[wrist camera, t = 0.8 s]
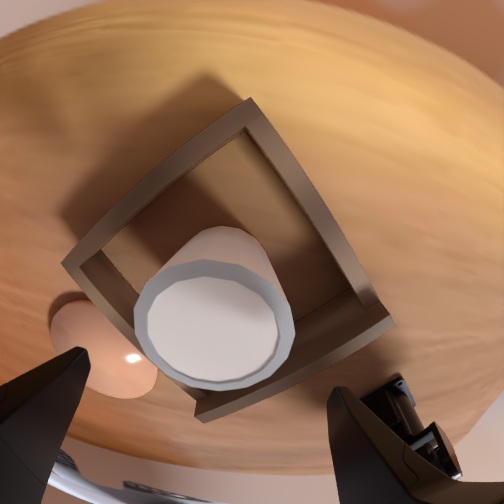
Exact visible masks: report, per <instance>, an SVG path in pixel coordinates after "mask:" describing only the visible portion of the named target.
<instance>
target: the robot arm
mask: <svg viewBox="0 0 504 504" xmlns="http://www.w3.org/2000/svg"><path fill="white" fill-rule="evenodd" d="M90 370H91V363H90V359H89V355H88V351H87V349H85V348H82V347H79V346H76V347H74V348H72V349H70V350H68V351H66V352H64V353H62V354H60V355H59V356H57V357H55V358H53V359H51V360H49V361H47V362H45V363H43V364H41V365H39V366H38V367H36V368H34V369H32V370H30V371H28V372H26V373H24V374H22V375H20V376H19V377H17V378H15V379H13V380H11V381H9V382H8V383H5V384H3V385H1V386H0V504H41V501H42V498H43V494H44V492H45V488H46V487H45V486H46V485H47V482H48V479H49V477H50V474H51V471H52V468H53V465H54V463H55V460H56V458H57V455H58V452H59V450H60V447H61V445H62V442H63V440H64V437H65V435H66V433H67V430H68V428H69V426H70V423H71V421H72V419H73V416H74V414H75V412H76V410H77V407H78V405H79V403H80V400H81V397H82V394H83V391H84V388H85V385H86V382H87V379H88V376H89V373H90ZM415 405H416V404H415V402H414V400H413V397H412V395H411V393H410V391H409V389H408V387H407V385H406V383H405V380H404V379H403V377H399V378H397V379H396V380H394V381H392V382H391V383H389V384H388V385H386V386H384V387H383V388H381V389H379V390H378V391H376V392H374V393H372V394H371V395H369V396H367V397H365V398H363V399H362V400H359V399H358V398H357V397H356V396H355V395H354V394H353V393H352V392H351V391H350V390H349V389H348V388H346V387H335V388H334V389H333V391H332V393H331V395H330V397H329V399H328V401H327V420H328V435H329V444H330V449H331V455H332V460H333V466H334V472H335V477H336V482H337V489H338V495H339V501H340V504H504V482H462V481H458V480H457V479H459V478H460V477H462V471H461V468H460V465H459V462H458V460H457V457H456V454H455V451H454V448H453V446H452V445H451V443H450V441H449V439H448V438H447V436H446V434H445V432H444V431H443V430H442V429H441V428H440V427H439V426H438V425H437V424H436V423H435V421H434V422H432V423H431V424H430V425H429V426H428V427H427V428H426V429H424V427H423V425H422V423H421V421H420V419H419V417H418V415H417V413H416V411H415V409H414V407H415ZM436 445H438V447H436V448H435V449H434V448H433V447H435V446H436Z"/></svg>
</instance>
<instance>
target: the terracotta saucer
mask: <svg viewBox="0 0 504 504" xmlns="http://www.w3.org/2000/svg"><path fill="white" fill-rule="evenodd" d="M51 339H52V343H53V346H54V348H55V351H56V353H57V355H58V356H59V355H60V354H62V353H64V352H66V351H68V350H70V349H72V348H74V347H76V346H79V347H82V348H85V349H87V351H88V355H89V359H90V363H91V370H90V373H89V376H88V379H87V382H86V385H87V386H88V387H90V388H92V389H94V390H96V391H98V392H100V393H102V394H105V395H108V396H112V397H117V398H136V397H139V396H142V395H144V394H146V393H147V392H149V391H150V390H151V388H152V387H153V386H154V383H155V381H156V378H157V375H158V371H159V369H158V368H157V367H156V366H155V365H154V364H153V363H152V362H150V361H149V360H148V359H147V358H146V357H145V356H144V355H143V354H142V353H141V352H140V351H139V350H138V349H137V348H136V347H135V346H134V345H133V344H132V343H131V342H129V341H128V340H127V339H126V338H125V337H124V335H123V334H122V333H121V332H120V331H119V330H118V329H117V328H116V327H115V326H114V325H113V324H112V323H111V322H110V321H109V320H108V319H107V318H106V317H105V316H104V314H103V313H102V312H101V311H100V310H99V309H98V308H97V307H96V306H95V304H94V303H93V302H92V301H91V300H83V299H81V300H74V301H71V302H69V303H67V304H65V305H64V306H63V307H62V308H61V309H60V310H59V311H58V312H57V313H56V314H55V316H54V318H53V320H52V323H51Z"/></svg>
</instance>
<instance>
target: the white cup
mask: <svg viewBox="0 0 504 504" xmlns="http://www.w3.org/2000/svg"><path fill="white" fill-rule="evenodd" d="M134 325H135V335H136V337H137V339H138V341H139V343H140V345H141V347H142V348H143V350H144V352H145V354H146V356H147V357H148V358H149V359H150V360H151V361H152V362H153V363H154V364H155V365H156V366H157V367H158V368H159V369H161V370H162V371H163V372H164V373H165V374H166V375H168V376H170V377H172V378H174V379H176V380H178V381H180V382H182V383H185V384H187V385H189V386H191V387H196V388H202V389H209V390H215V391H224V390H232V389H240V388H247V387H249V386H251V385H253V384H255V383H257V382H259V381H262V380H264V379H266V378H268V377H270V376H271V375H272V374H273V373H274V372H275V371H276V370H277V369H278V368H279V367H280V366H281V365H282V363H283V362H284V361H285V360H286V359H287V358H288V355H289V352H290V349H291V346H292V343H293V340H294V337H295V329H294V324H293V318H292V313H291V307H290V305H289V303H288V301H287V298H286V296H285V294H284V292H283V290H282V287H281V285H280V283H279V281H278V278H277V276H276V274H275V272H274V269H273V267H272V265H271V263H270V261H269V258H268V256H267V254H266V252H265V251H264V249H263V248H262V246H261V245H260V244H259V242H258V241H257V240H256V238H254V237H253V236H251V235H249V234H248V233H246V232H244V231H243V230H241V229H239V228H233V227H227V226H217V227H213V228H209V229H205V230H202V231H201V232H200V233H198V234H197V235H196V236H194V237H193V238H192V239H190V240H189V241H188V242H187V243H186V244H185V245H184V246H183V247H182V248H181V249H180V250H179V251H178V252H177V253H176V254H175V255H174V256H173V257H172V258H171V259H170V260H169V261H168V262H167V263H166V264H165V265H164V266H163V267H162V268H161V269H160V270H159V271H158V272H157V273H156V274H155V275H154V276H153V277H152V278H151V279H150V280H149V281H148V282H147V283H146V284H145V286H144V288H143V290H142V292H141V294H140V296H139V298H138V300H137V303H136V305H135V307H134Z"/></svg>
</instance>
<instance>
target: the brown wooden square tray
mask: <svg viewBox="0 0 504 504" xmlns="http://www.w3.org/2000/svg"><path fill="white" fill-rule="evenodd" d="M245 130H246V131H247V132H248V134H249V135H250V136H251V138H252V139H253V140H254V142H255V143H256V145H257V146H258V147H259V149H260V150H261V151H262V153H263V154H264V155H265V157H266V158H267V160H268V161H269V162H270V164H271V165H272V167H273V168H274V169H275V171H276V172H277V174H278V175H279V177H280V178H281V179H282V181H283V182H284V184H285V185H286V187H287V188H288V190H289V191H290V193H291V194H292V195H293V197H294V198H295V200H296V201H297V203H298V204H299V206H300V207H301V209H302V210H303V212H304V213H305V215H306V216H307V218H308V220H309V221H310V223H311V224H312V226H313V227H314V229H315V230H316V232H317V233H318V235H319V237H320V238H321V240H322V241H323V243H324V244H325V246H326V248H327V249H328V251H329V252H330V254H331V256H332V257H333V259H334V260H335V262H336V264H337V265H338V267H339V269H340V270H341V272H342V274H343V275H344V277H345V279H346V280H347V282H348V284H349V285H350V287H351V288H349V289H348V290H346V291H344V292H343V293H341V294H340V295H338V296H337V297H335V298H334V299H332V300H331V301H329V302H327V303H326V304H324V305H323V306H321V307H319V308H318V309H316V310H315V311H313V312H311V313H310V314H308V315H306V316H305V317H303V318H301V319H300V320H298V321H296V322H295V323H293V324H294V329H295V337H294V340H293V343H292V346H291V349H290V352H289V355H288V358H287V359H286V360H285V361H284V362H283V363H282V365H281V366H280V367H279V368H278V369H277V370H276V371H275V372H274V373H273V374H272V375H271V376H270V377H268V378H266V379H264V380H262V381H259V382H257V383H255V384H253V385H251V386H249V387H247V388H240V389H232V390H224V391H215V390H209V389H202V388H196V387H191V386H189V385H187V384H185V383H182V382H180V381H178V380H176V379H174V378H172V377H170V376H168V375H166V374H165V373H164V372H163V371H162V370H161V369H159V368H158V367H157V366H156V365H155V364H154V363H153V362H152V361H151V360H150V359H149V358H148V357H147V356H146V354H145V352H144V350H143V348H142V347H141V345H140V343H139V341H138V339H137V337H136V335H135V325H134V307H135V305H136V303H137V300H138V298H139V295H138V294H137V293H136V292H135V290H134V289H133V288H132V287H131V286H130V285H129V284H128V282H127V281H126V280H125V279H124V278H123V277H122V275H121V274H120V273H119V272H118V271H117V269H116V268H115V267H114V266H113V265H112V263H111V262H110V261H109V260H108V258H107V257H106V256H105V255H104V253H103V252H102V251H101V250H100V249H101V248H102V247H103V246H104V245H105V244H106V243H108V242H109V241H110V240H111V239H112V238H113V237H114V236H115V235H116V234H117V233H118V232H119V231H120V230H121V229H122V228H123V227H125V226H126V225H127V224H128V223H129V222H130V221H131V220H132V219H133V218H135V217H136V216H137V215H138V214H139V213H140V212H141V211H142V210H144V209H145V208H146V207H147V206H148V205H149V204H150V203H152V202H153V201H154V200H155V199H156V198H158V197H159V196H160V195H161V194H162V193H163V192H165V191H166V190H167V189H168V188H170V187H171V186H172V185H173V184H174V183H176V182H177V181H178V180H179V179H181V178H182V177H183V176H184V175H186V174H187V173H188V172H189V171H191V170H192V169H193V168H195V167H196V166H197V165H199V164H200V163H201V162H202V161H204V160H205V159H206V158H208V157H209V156H210V155H212V154H213V153H214V152H216V151H217V150H219V149H220V148H221V147H223V146H224V145H225V144H227V143H228V142H230V141H231V140H232V139H234V138H235V137H237V136H238V135H240V134H241V133H242V132H244V131H245ZM61 264H62V266H63V267H64V268H65V269H66V271H67V272H68V273H69V275H70V276H71V277H72V278H73V280H74V281H75V282H76V283H77V284H78V286H79V287H80V288H81V289H82V290H83V292H84V293H85V294H86V295H87V296H88V298H89V299H90V300H91V301H92V302H93V303H94V304H95V306H96V307H97V308H98V309H99V310H100V311H101V312H102V313H103V314H104V316H105V317H106V318H107V319H108V320H109V321H110V322H111V323H112V324H113V325H114V326H115V327H116V328H117V329H118V330H119V331H120V332H121V333H122V334H123V335H124V337H125V338H126V339H127V340H128V341H129V342H131V343H132V344H133V345H134V346H135V347H136V348H137V349H138V350H139V351H140V352H141V353H142V354H143V355H144V356H145V357H146V358H147V359H148V360H149V361H150V362H152V363H153V364H154V365H155V366H156V367H157V368H158V369H159V370H160V371H162V372H163V373H164V374H165V375H166V376H167V377H168V378H170V379H171V380H172V381H173V382H174V383H175V384H177V385H178V386H179V387H180V388H181V389H183V390H184V391H185V392H186V393H188V394H189V395H190V396H191V397H193V398H194V399H195V400H196V401H197V402H196V408H195V414H194V417H195V418H197V419H198V420H200V421H201V422H202V423H207V422H210V421H212V420H215V419H218V418H220V417H223V416H226V415H228V414H231V413H233V412H236V411H238V410H241V409H243V408H246V407H248V406H250V405H253V404H255V403H257V402H260V401H262V400H264V399H266V398H269V397H271V396H273V395H275V394H277V393H279V392H281V391H284V390H286V389H288V388H290V387H292V386H294V385H296V384H298V383H300V382H302V381H304V380H306V379H308V378H310V377H311V376H313V375H315V374H317V373H319V372H321V371H323V370H325V369H326V368H328V367H330V366H332V365H334V364H335V363H337V362H339V361H341V360H342V359H344V358H346V357H347V356H349V355H351V354H352V353H354V352H356V351H357V350H359V349H361V348H362V347H364V346H365V345H367V344H369V343H370V342H372V341H373V340H375V339H376V338H378V337H380V336H381V335H383V334H384V333H386V332H387V331H389V330H390V329H392V328H393V327H394V326H396V325H395V323H394V321H393V319H392V317H391V315H390V313H389V312H388V311H387V309H386V308H385V307H384V305H383V304H382V303H381V302H380V300H379V298H378V296H377V294H376V292H375V290H374V288H373V286H372V284H371V282H370V281H369V279H368V277H367V275H366V273H365V271H364V269H363V268H362V266H361V264H360V262H359V260H358V259H357V257H356V255H355V253H354V251H353V250H352V248H351V246H350V244H349V243H348V241H347V239H346V237H345V236H344V234H343V232H342V231H341V229H340V227H339V226H338V224H337V222H336V221H335V219H334V217H333V216H332V214H331V212H330V211H329V209H328V207H327V206H326V204H325V203H324V201H323V199H322V198H321V196H320V195H319V193H318V192H317V190H316V188H315V187H314V185H313V184H312V182H311V181H310V179H309V178H308V176H307V175H306V173H305V172H304V170H303V169H302V167H301V166H300V164H299V163H298V161H297V160H296V158H295V157H294V155H293V154H292V153H291V151H290V150H289V148H288V147H287V145H286V144H285V143H284V141H283V140H282V138H281V137H280V135H279V134H278V133H277V131H276V130H275V129H274V127H273V126H272V124H271V123H270V122H269V120H268V119H267V118H266V116H265V115H264V114H263V112H262V111H261V110H260V108H259V107H258V106H257V105H256V103H255V102H254V101H253V99H252V98H251V97H250V98H248V99H247V100H245V101H244V102H242V103H241V104H239V105H238V106H236V107H235V108H233V109H232V110H230V111H229V112H227V113H226V114H225V115H223V116H222V117H220V118H219V119H217V120H216V121H215V122H213V123H212V124H211V125H209V126H208V127H206V128H205V129H204V130H202V131H201V132H200V133H198V134H197V135H196V136H195V137H193V138H192V139H191V140H189V141H188V142H187V143H185V144H184V145H183V146H182V147H180V148H179V149H178V150H177V151H175V152H174V153H173V154H172V155H171V156H169V157H168V158H167V159H166V160H164V161H163V162H162V163H161V164H160V165H159V166H157V167H156V168H155V169H154V170H153V171H152V172H150V173H149V174H148V175H147V176H146V177H145V178H144V179H142V180H141V181H140V182H139V183H138V184H137V185H136V186H135V187H134V188H133V189H131V190H130V191H129V192H128V193H127V194H126V195H125V196H124V197H123V198H122V199H121V200H120V201H119V202H118V203H117V204H116V205H114V206H113V207H112V208H111V209H110V210H109V211H108V212H107V213H106V214H105V215H104V216H103V217H102V218H101V219H100V220H99V221H98V222H97V224H96V225H95V226H94V227H93V228H92V229H91V230H90V231H89V232H88V233H87V234H86V235H85V236H84V237H83V238H82V239H81V240H80V242H79V243H78V244H77V245H76V246H75V247H74V248H73V249H72V250H71V252H70V253H69V254H68V255H67V256H66V257H65V258H64V260H63V261H62V262H61Z"/></svg>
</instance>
